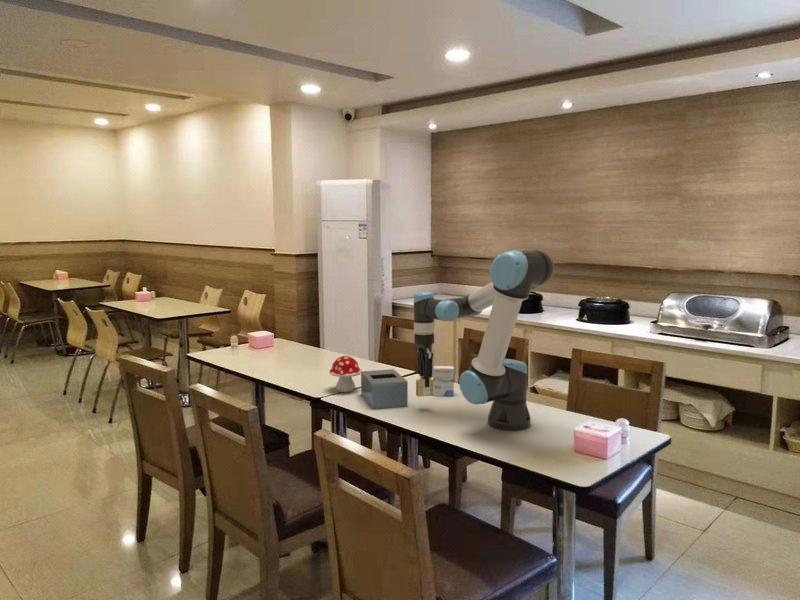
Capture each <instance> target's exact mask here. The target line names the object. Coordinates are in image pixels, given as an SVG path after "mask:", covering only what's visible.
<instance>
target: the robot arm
mask: <svg viewBox="0 0 800 600" xmlns="http://www.w3.org/2000/svg"><path fill="white" fill-rule="evenodd" d="M554 273H555V263H554V260H553V259H552V258H551V256H550V255H549V254H548V253H547V252H544V251H543V250H538V249H532V250H530V249H529V250H509V251H505V252H502V253H500V254H497V256H496V257H495V258H494V259H493V261H492V263H491V265H490V270H489V276H490V277H491V278H490V280H491V282H489V283H487V284H486V285H483V286H482V287H479V289H477V290H474V291H472V292H471V293H469V294H467V295H465V296H461V297H453V298H452V297H451V298H445V299H441V298H440V299H439V298H435V296H434V293H433V292H432V291H431V292H430V291H420V292H415V293H414V294H413V295H414V296H413V320H414V321H413V332H414V338H413V339H414V340H413V341H414V344H416V345H418V347H416V349H415V351H416V362H417V363H416V365H417V374H419V375H418V376H419V379H423V396H422V397H425V396H424V395H430V379H433V359H434V352H432V349H431V345H432V344H434V343H435V334H434V332H435V326H436V324H435V320H437V321H442V322H453V321H454V320H456V319H462V318H467V317H468V318H470V317H471V318H472V317H475V316H479V315H481V313H482V312H483V311H484V310H485V309H488V308H490V307H491V311H490V313H489V317H488V321H487V323H486V328H485V330H484V333H483V334H484V335H483V337H482V340H481V341H482V342H481V344H480V349H479V352H478V356H477V357H474V358H473V359H472V360H471V363H470V365H469V369H468V370H465V371H464V372H462V373H461V374H460V376H459V379H458V380H459V381H458V384H459V389H460V390H459V391H461V394H462V396H463V397H464V399H465V400H466V401H467V402H468V403H470V404H473V405H484V404H486V403H490V402H492V403H491V407H490V408H489V412H488V414H487V424H488V425H489V426H490V427H493V428H495V429H498V430H505V431H521V430H526V429H528V428H530V427H531V424H532V423H531V422H532V418H531V415H530V412H529V408H528V404H527V388H528V366H527V364H526V363H525V362H524V361H522V360H521V361H520V360H516V359H513V358H512V359H511V358H506V355H507V352H508V349H509V346H510V342H511V338H512V336H513V332H514V331H515V330H514V329H515V326H516V323H517V320H518V316H519V313H520V310H521V307H522V303H523V301H526V300H528V299H529V297H530V294H531V291H532V290H535V289H537V288H539V287H541V286H544V285H546V284H547V283H548V282H550V281H551V279H552V278H553V276H554Z"/></svg>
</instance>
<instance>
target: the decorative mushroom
mask: <svg viewBox="0 0 800 600" xmlns="http://www.w3.org/2000/svg"><path fill="white" fill-rule="evenodd" d="M361 371H362V368H360V367H359V363H358V362H357V360H356V359H354V358H353V357H351V356H349V355H342V356H338V357H337V358H336V359H335V360H334V362H333V363H332V366H331V369H330V370H329V371H328V373H329V375H331V377H338V381H337V382H336V384H335V389H336V390H337V392H339V393H343V392H347V393H352V392H353V391H354V389H355V388H356V384H355V382H354V380H353V377H357V376H359V375H360V376H361Z"/></svg>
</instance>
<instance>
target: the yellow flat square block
mask: <svg viewBox="0 0 800 600" xmlns="http://www.w3.org/2000/svg"><path fill="white" fill-rule="evenodd" d="M415 391H416V392H415V396H416V397H418V398H419V397H430V396H433V378H430V395H424V396H423V379H420V378H419V379H416V380H415ZM433 397H434V396H433Z"/></svg>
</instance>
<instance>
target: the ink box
mask: <svg viewBox="0 0 800 600" xmlns="http://www.w3.org/2000/svg"><path fill="white" fill-rule="evenodd" d="M454 370H455V367H454V366H453V365H452V366H450V365H449V366H448V365H447V366H446V365H434V366H432V380H433V397H454V395H455V393H454V392H455V391H454V388H455V387H454V385H455V383H454V382H455V374H454V373H455V371H454Z"/></svg>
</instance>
